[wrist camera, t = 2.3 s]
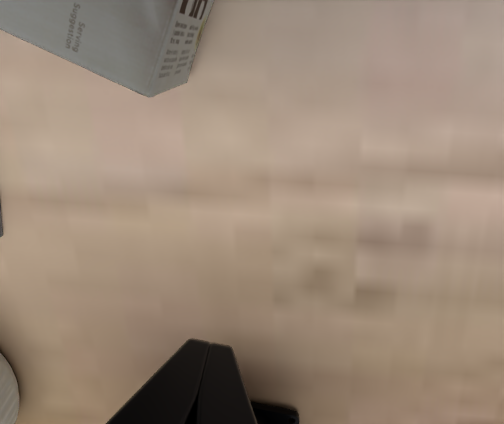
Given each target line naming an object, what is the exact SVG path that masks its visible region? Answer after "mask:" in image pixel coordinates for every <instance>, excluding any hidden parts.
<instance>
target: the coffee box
mask: <svg viewBox="0 0 504 424" xmlns="http://www.w3.org/2000/svg"><path fill="white" fill-rule="evenodd" d="M213 1H214V0H0V30H3V31H5V32H7V33H9V34H11V35H13V36H16V37H18V38H20V39H22V40H25V41H27V42H29V43H31V44H33V45H35V46H38V47H40V48H42V49H44V50H46V51H48V52H51V53H53V54H55V55H57V56H59V57H61V58H64V59H66V60H68V61H70V62H72V63H75V64H77V65H79V66H81V67H83V68H85V69H88V70H90V71H92V72H94V73H96V74H98V75H100V76H102V77H104V78H107V79H109V80H111V81H113V82H115V83H118V84H120V85H122V86H124V87H126V88H129V89H131V90H133V91H135V92H137V93H139V94H141V95H144V96H147V97H153V96H155V95H157V94H160V93H162V92H165V91H167V90H170V89H172V88H174V87H177V86H179V85H182V84H185V83H187V81H188V77H189V73H190V69H191V66H192V62H193V59H194V56H195V53H196V50H197V47H198V44H199V41H200V38H201V35H202V32H203V29H204V26H205V23H206V21H207V18H208V15H209V13H210V10H211V7H212V4H213Z"/></svg>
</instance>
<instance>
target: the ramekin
mask: <svg viewBox="0 0 504 424" xmlns="http://www.w3.org/2000/svg"><path fill="white" fill-rule="evenodd" d="M18 410H19V393H18V384H17V380H16V377H15V375H14V372H13V370H12V368H11V366H10V365H9V363H8V362H7V360H6V359H5V357H4V356H3V355H2V354H1V353H0V424H15V422H16V419H17V416H18Z"/></svg>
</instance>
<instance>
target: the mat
mask: <svg viewBox="0 0 504 424" xmlns="http://www.w3.org/2000/svg"><path fill="white" fill-rule="evenodd" d="M1 236H3V231H2V219H1V206H0V237H1Z"/></svg>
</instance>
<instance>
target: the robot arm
mask: <svg viewBox="0 0 504 424" xmlns="http://www.w3.org/2000/svg"><path fill="white" fill-rule="evenodd" d="M106 424H299V414H298V412H296V411H294V410H290V409H284V408H279V407H274V406H269V405H264V404H259V403H254V402H250V400H249V397H248V394H247V391H246V388H245V385H244V382H243V379H242V376H241V373H240V370H239V367H238V364H237V361H236V358H235V355H234V352H233V349H232V347H230V346H228V345H223V344H218V343H211V344H210V343H209V342H208V341H203V340H198V339H192V338H191V339H189V340H187V341H186V342H185V343H184V344H183V345H182V346H181V347H180V348H179V349H178V350H177V351H176V352H175V353H174V355H173V356H172V357H171V358H170V359H169V360H168V361H167V362H166V363H165V364H164V365H163V366H162V367H161V368H160V369H159V370H158V371H157V372H156V373H155V374H154V375H153V376H152V377H151V378H150V379H149V380H148V381H147V382H146V383H145V384H144V385H143V386H142V387H141V388H140V389H139V390H138V391H137V392H136V393H135V394H134V395H133V396H132V397H131V398H130V399H129V400H128V401H127V402H126V403H125V404H124V405H123V406H122V407H121V408H120V409H119V411H118V412H117V413H116V414H115V415H114V416H113V417H112V418H111V419H110V420H109V421H108V422H107V423H106Z"/></svg>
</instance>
